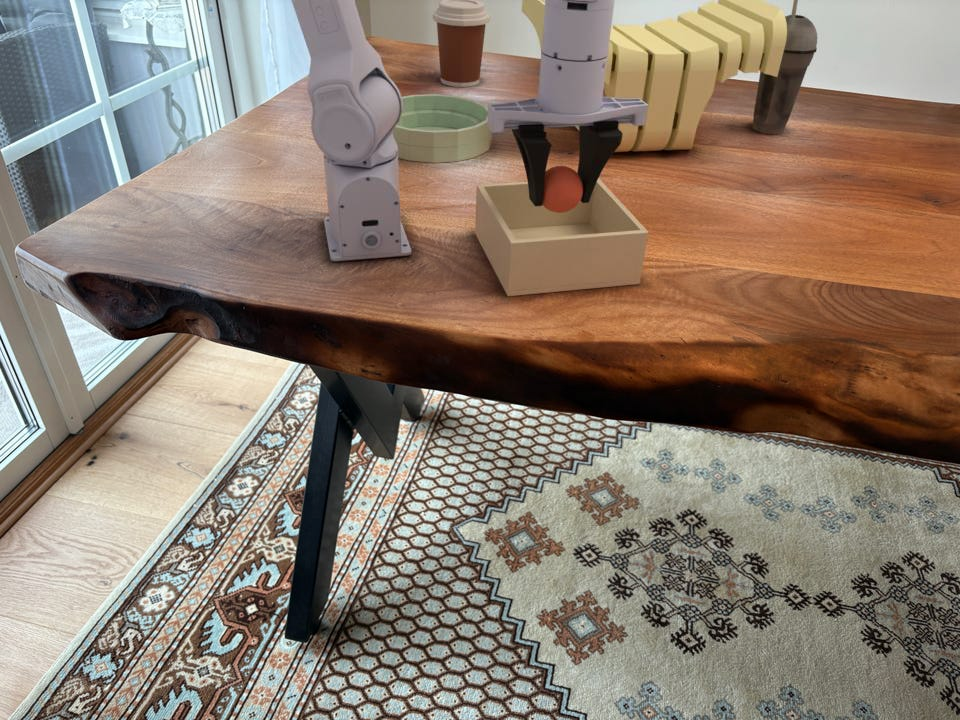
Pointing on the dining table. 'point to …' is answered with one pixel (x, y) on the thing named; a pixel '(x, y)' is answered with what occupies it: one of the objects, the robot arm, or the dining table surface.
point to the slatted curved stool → (683, 64)
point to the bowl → (442, 129)
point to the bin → (558, 241)
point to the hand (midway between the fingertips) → (559, 200)
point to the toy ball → (562, 189)
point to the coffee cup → (460, 40)
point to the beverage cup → (785, 76)
